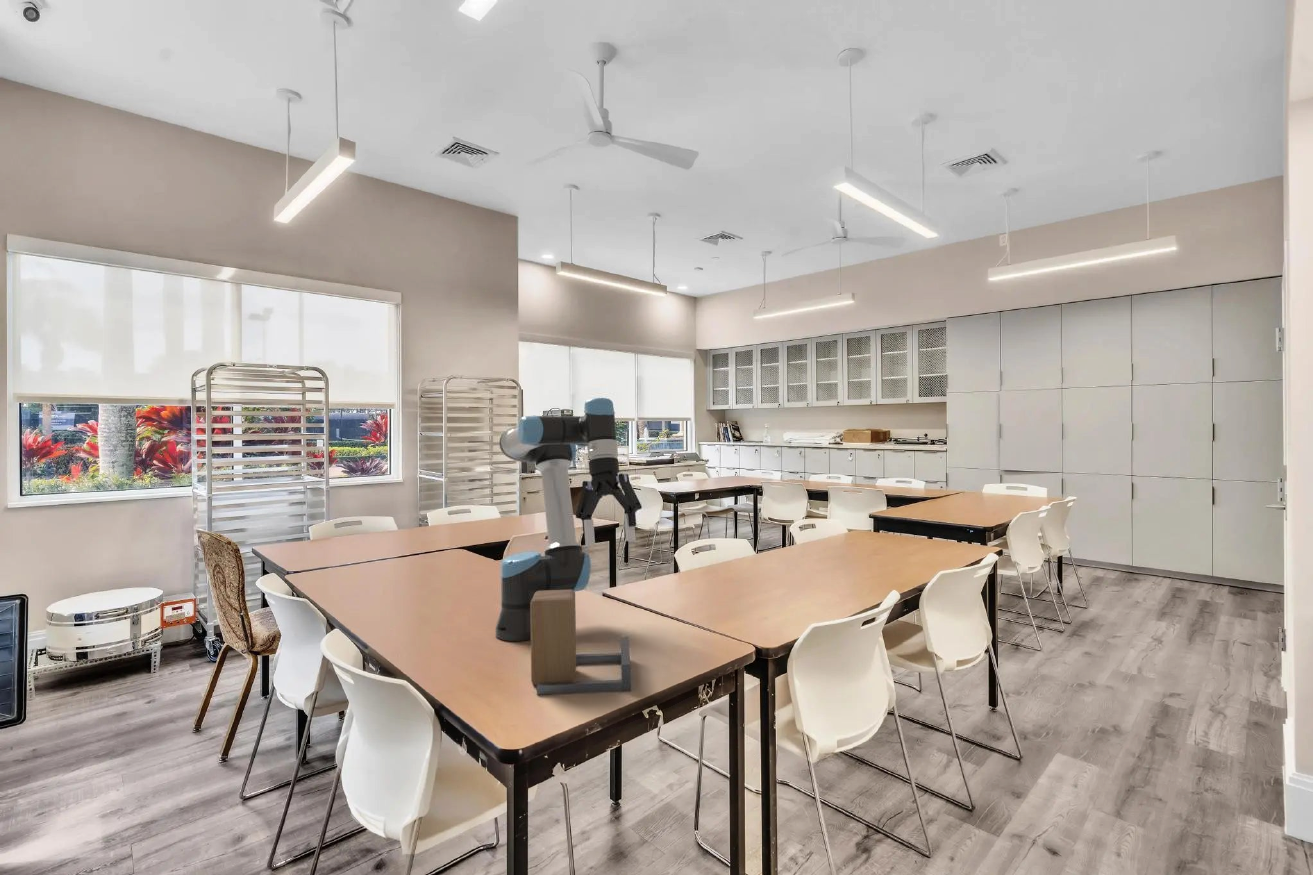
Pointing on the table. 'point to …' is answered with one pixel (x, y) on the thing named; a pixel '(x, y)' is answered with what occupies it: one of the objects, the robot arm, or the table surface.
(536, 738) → the table surface
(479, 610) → the table surface
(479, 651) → the table surface
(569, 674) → the wooden block
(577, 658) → the end stop channel
